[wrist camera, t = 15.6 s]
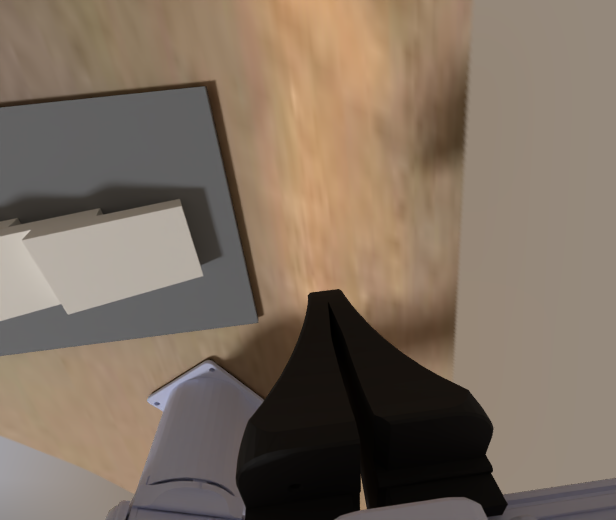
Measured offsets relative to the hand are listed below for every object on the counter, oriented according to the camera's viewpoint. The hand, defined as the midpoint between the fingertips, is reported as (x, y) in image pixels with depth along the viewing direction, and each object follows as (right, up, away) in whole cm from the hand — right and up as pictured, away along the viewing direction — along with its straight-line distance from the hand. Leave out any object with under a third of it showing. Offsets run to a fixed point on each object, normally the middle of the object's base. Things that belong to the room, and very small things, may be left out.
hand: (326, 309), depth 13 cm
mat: (-18, +3, +8) cm, 20 cm away
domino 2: (-8, +4, +7) cm, 12 cm away
